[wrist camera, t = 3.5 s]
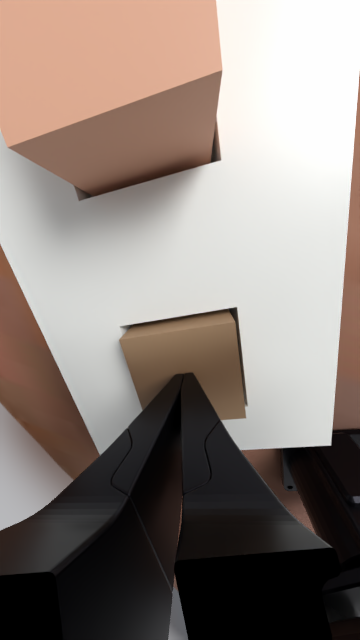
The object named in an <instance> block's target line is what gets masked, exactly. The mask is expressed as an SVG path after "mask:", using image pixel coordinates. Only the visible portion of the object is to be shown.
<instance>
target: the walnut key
mask: <svg viewBox="0 0 360 640" xmlns="http://www.w3.org/2000/svg"><path fill="white" fill-rule="evenodd" d="M119 342H120V345H121V348H122V351H123V354H124V357H125V360H126V363H127V366H128V369H129V372H130V375H131V378H132V381H133V383H134V386H135V389H136V392H137V395H138V398H139V401H140V404H141V407H142V410H143V409H144V408H145V407H146V406H147V405H148V404H149V403H150V402H151V401H152V399H153V398H154V397H155V396H156V395H157V394H158V393H159V392H160V391H161V390H162V388H163V387H164V386H165V385H166V384H167V383H168V382H169V381H170V380H171V379H172V377H173V376H174V375H175V374H182V373H183V374H185V373H190V372H193V373H194V374H195V376H196V378H197V380H198V381H199V383H200V385H201V387H202V388H203V390H204V392H205V393H206V395H207V397H208V399H209V400H210V402H211V404H212V406H213V407H214V409H215V411H216V412H217V414H218V416H219V418H220V419H221V420H231V419H244V418H246V411H245V403H244V394H243V385H242V376H241V368H240V359H239V350H238V341H237V332H236V324H235V321H234V319H233V317H232V315H231V313H230V312H229V310H228V309H222V310H216V311H210V312H204V313H197V314H191V315H185V316H179V317H173V318H167V319H161V320H155V321H149V322H143V323H137V324H133V325H132V326H131V327H130V329H129V330H128V331H127V332H126V333H125V334H124V335H123V336H122V337H121V338H120V339H119Z"/></svg>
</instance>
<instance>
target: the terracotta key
mask: <svg viewBox="0 0 360 640" xmlns="http://www.w3.org/2000/svg"><path fill="white" fill-rule="evenodd" d="M222 70H223V69H222V59H221V48H220V38H219V27H218V16H217V6H216V0H0V130H1V132H2V135H3V137H4V140H5V142H6V145H7V147H8V148H9V149H11V150H13V151H15V152H16V153H18V154H20V155H22V156H23V157H25V158H27V159H29V160H30V161H32V162H34V163H36V164H38V165H39V166H41V167H43V168H45V169H46V170H48V171H50V172H52V173H53V174H55V175H57V176H59V177H60V178H62V179H64V180H66V181H67V182H69V183H71V184H73V185H74V186H76V187H78V188H80V189H81V190H83V191H85V192H87V193H88V194H90V195H92V196H94V197H95V196H98V195H102V194H105V193H109V192H112V191H116V190H119V189H123V188H126V187H130V186H133V185H137V184H140V183H144V182H147V181H151V180H154V179H157V178H161V177H164V176H168V175H171V174H175V173H178V172H182V171H185V170H189V169H192V168H196V167H199V166H203V165H206V164H210V160H211V153H212V145H213V138H214V130H215V123H216V115H217V108H218V100H219V93H220V85H221V78H222Z"/></svg>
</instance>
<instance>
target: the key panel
mask: <svg viewBox="0 0 360 640" xmlns="http://www.w3.org/2000/svg"><path fill="white" fill-rule="evenodd" d="M216 6H217V16H218V27H219V38H220V48H221V59H222V69H223V70H222V78H221V85H220V93H219V100H218V108H217V115H216V123H215V130H214V138H213V145H212V153H211V160H210V164H206V165H203V166H199V167H196V168H192V169H189V170H185V171H182V172H178V173H175V174H171V175H168V176H164V177H161V178H157V179H154V180H151V181H147V182H144V183H140V184H137V185H133V186H130V187H126V188H123V189H119V190H116V191H112V192H109V193H105V194H102V195H98V196H95V197H94V196H92V195H90V194H88V193H87V192H85V191H83V190H81V189H80V188H78V187H76V186H74V185H73V184H71V183H69V182H67V181H66V180H64V179H62V178H60V177H59V176H57V175H55V174H53V173H52V172H50V171H48V170H46V169H45V168H43V167H41V166H39V165H38V164H36V163H34V162H32V161H30V160H29V159H27V158H25V157H23V156H22V155H20V154H18V153H16V152H15V151H13V150H11V149H9V148H8V147H7V145H6V142H5V140H4V137H3V135H2V132H1V130H0V244H1V247H2V249H3V251H4V253H5V255H6V257H7V259H8V261H9V263H10V266H11V268H12V270H13V272H14V274H15V276H16V278H17V280H18V283H19V285H20V287H21V289H22V291H23V293H24V295H25V297H26V299H27V302H28V304H29V306H30V308H31V310H32V312H33V314H34V316H35V319H36V321H37V323H38V325H39V327H40V329H41V331H42V333H43V336H44V338H45V340H46V342H47V344H48V346H49V348H50V350H51V352H52V355H53V357H54V359H55V361H56V363H57V365H58V367H59V369H60V372H61V374H62V376H63V378H64V380H65V382H66V384H67V386H68V389H69V391H70V393H71V395H72V397H73V399H74V401H75V403H76V405H77V408H78V410H79V412H80V414H81V416H82V418H83V420H84V422H85V425H86V427H87V429H88V431H89V433H90V435H91V437H92V439H93V442H94V444H95V446H96V448H97V450H98V452H99V454H100V455H101V454H102V453H103V452H104V451H105V450H106V449H107V448H108V447H109V446H110V445H111V444H112V443H113V442H114V441H115V440H116V439H117V438H118V437H119V436H120V435H121V433H122V432H123V431H124V430H125V429H126V428H128V426H129V425H130V424H131V423H132V421H133V420H134V419H135V418H136V417H137V416H138V415H139V414H140V413H141V412H142V407H141V404H140V401H139V398H138V395H137V392H136V389H135V386H134V383H133V381H132V378H131V375H130V372H129V369H128V366H127V363H126V360H125V357H124V354H123V351H122V348H121V345H120V342H119V339H120V338H121V337H122V336H123V335H124V334H125V333H126V332H127V331H128V330H129V329H130V327H131V326H132V325H133V324H137V323H143V322H149V321H155V320H161V319H167V318H173V317H179V316H185V315H191V314H197V313H204V312H210V311H216V310H222V309H228V310H229V312H230V313H231V315H232V317H233V319H234V321H235V324H236V332H237V341H238V350H239V359H240V368H241V376H242V385H243V394H244V403H245V411H246V418H244V419H231V420H221V421H222V423H223V424H224V426H225V428H226V429H227V431H228V433H229V434H230V436H231V437H232V439H233V441H234V442H235V443H236V445H237V446H238V447H239V449H240V450H251V449H271V448H291V447H311V446H331V439H332V426H333V413H334V400H335V387H336V374H337V360H338V347H339V334H340V321H341V308H342V294H343V281H344V268H345V255H346V242H347V228H348V215H349V202H350V189H351V176H352V162H353V149H354V136H355V123H356V110H357V96H358V83H359V70H360V0H216Z"/></svg>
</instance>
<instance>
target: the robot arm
mask: <svg viewBox="0 0 360 640" xmlns="http://www.w3.org/2000/svg"><path fill="white" fill-rule="evenodd" d="M281 466H282V483H283V486H284V489H285V490H287V491H298V493H299V495H300V498H301V500H302V502H303V505H304V507H305V509H306V512H307V514H308V516H309V519H310V521H311V523H312V526H313V528H314V530H315V533H316V534H314V533H313V532H312V531H311V530H309V529H308V528H307V527H305V526H304V525H303V524H302V523H301V522H299V521H298V520H297V519H296V518H295V517H294V516H293V515H292V514H291V513H290V512H289V511H288V510H287V508H286V507H285V506H284V505H283V504H282V503H281V502H280V500H279V499H278V498H277V497H276V495H275V494H274V493H273V492H272V490H271V489H270V488H269V487H268V485H267V484H266V483H265V481H264V480H263V479H262V478H261V476H260V475H259V474H258V472H257V471H256V470H255V469H254V467H253V466H252V465H251V463H250V462H249V461H248V460H247V458H246V457H245V456H244V454H243V453H242V452H241V450H240V449H239V447H238V446H237V445H236V443H235V442H234V441H233V439H232V437H231V436H230V434H229V433H228V431H227V429H226V428H225V426H224V424H223V423H222V421H221V419H220V418H219V416H218V414H217V412H216V411H215V409H214V407H213V406H212V404H211V402H210V400H209V399H208V397H207V395H206V393H205V392H204V390H203V388H202V387H201V385H200V383H199V381H198V380H197V378H196V376H195V374H194V373H193V372H190V373H185V374H183V373H182V374H175V375H174V376H173V377H172V379H171V380H170V381H169V382H168V383H167V384H166V385H165V386H164V387H163V388H162V390H161V391H160V392H159V393H158V394H157V395H156V396H155V397H154V398H153V399H152V401H151V402H150V403H149V404H148V405H147V406H146V407H145V408H144V409H143V410H142V412H141V413H140V414H139V415H138V416H137V417H136V418H135V419H134V420H133V421H132V423H131V424H130V425H129V426H128V428H126V429H125V430H124V431H123V432H122V433H121V435H120V436H119V437H118V438H117V439H116V440H115V441H114V442H113V443H112V444H111V445H110V446H109V447H108V448H107V449H106V450H105V451H104V452H103V453H102V454H101V455H100V456H99V457H98V458H97V459H96V460H95V461H94V462H93V463H92V464H91V465H90V466H89V467H88V468H87V469H85V470H84V471H83V472H82V473H81V474H80V475H79V476H78V477H77V478H76V479H75V480H74V481H73V482H72V483H71V484H70V485H69V486H68V487H67V488H65V489H64V490H63V491H62V492H61V493H60V494H59V495H58V496H57V497H56V498H55V499H54V500H52V501H51V502H50V503H49V504H48V505H46V506H45V507H44V508H43V509H41V510H40V511H38V512H37V513H35V514H34V515H32V516H30V517H29V518H27V519H25V520H23V521H21V522H19V523H17V524H14V525H12V526H10V527H8V528H5V529H3V530H1V531H0V640H168V635H169V624H170V615H171V604H172V591H173V583H174V573H175V577H176V582H177V587H178V591H179V596H180V601H181V606H182V611H183V616H184V620H185V625H186V630H187V634H188V640H360V429H357V430H341V431H332V439H331V446H311V447H291V448H281ZM182 496H183V497H182ZM181 502H182V524H181V530H180V535H179V541H178V532H179V522H180V512H181ZM177 542H178V546H177Z"/></svg>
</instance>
